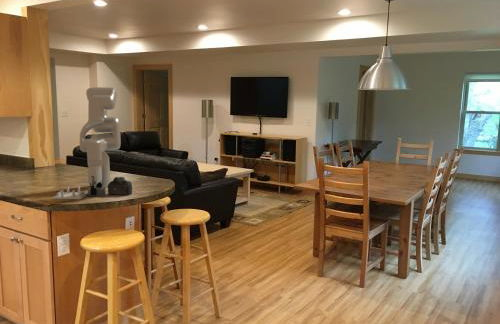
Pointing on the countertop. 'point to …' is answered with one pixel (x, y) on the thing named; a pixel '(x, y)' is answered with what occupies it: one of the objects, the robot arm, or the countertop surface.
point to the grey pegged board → (70, 194)
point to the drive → (98, 192)
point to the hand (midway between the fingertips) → (96, 192)
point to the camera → (120, 186)
